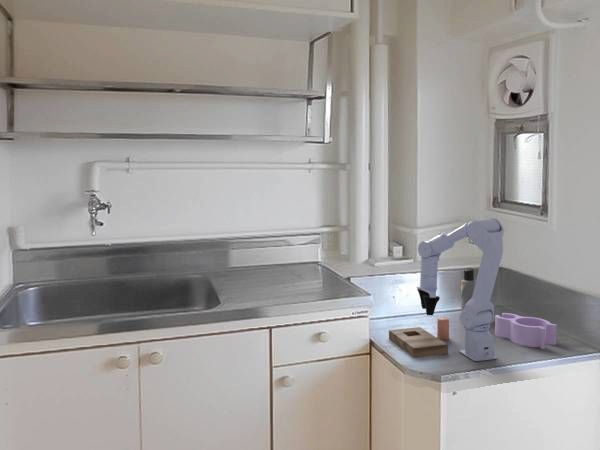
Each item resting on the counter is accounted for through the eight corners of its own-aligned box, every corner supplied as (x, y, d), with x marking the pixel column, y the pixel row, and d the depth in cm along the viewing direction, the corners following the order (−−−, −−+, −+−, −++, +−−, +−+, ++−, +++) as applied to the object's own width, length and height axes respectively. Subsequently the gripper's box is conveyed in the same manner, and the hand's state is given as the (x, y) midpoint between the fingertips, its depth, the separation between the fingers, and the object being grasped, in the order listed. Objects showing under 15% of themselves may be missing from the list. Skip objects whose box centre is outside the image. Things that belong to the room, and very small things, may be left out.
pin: (451, 339, 191) (451, 320, 190) (440, 340, 190) (440, 321, 189) (445, 336, 195) (445, 317, 194) (435, 337, 194) (435, 318, 193)
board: (447, 353, 178) (447, 344, 177) (413, 357, 175) (413, 348, 174) (419, 335, 197) (419, 327, 196) (388, 338, 194) (388, 330, 194)
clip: (487, 336, 195) (488, 317, 194) (509, 329, 202) (509, 311, 201) (539, 351, 178) (539, 330, 178) (560, 343, 185) (561, 323, 185)
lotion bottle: (478, 317, 217) (479, 268, 215) (471, 320, 213) (472, 270, 211) (465, 315, 221) (465, 266, 219) (458, 318, 217) (458, 268, 215)
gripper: (413, 269, 199) (412, 305, 201) (421, 279, 184) (420, 318, 186) (432, 269, 199) (431, 305, 201) (442, 279, 184) (441, 318, 186)
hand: (427, 311), depth 194 cm, fingers open, 7 cm apart
